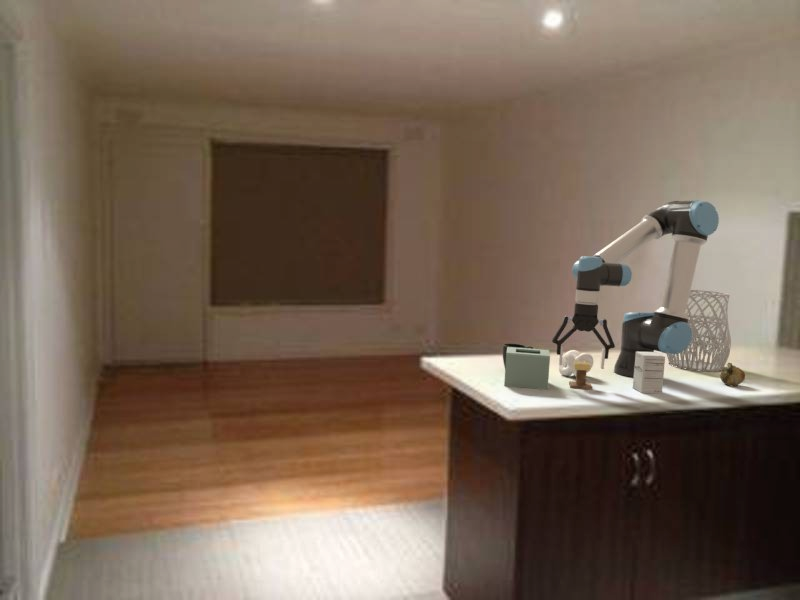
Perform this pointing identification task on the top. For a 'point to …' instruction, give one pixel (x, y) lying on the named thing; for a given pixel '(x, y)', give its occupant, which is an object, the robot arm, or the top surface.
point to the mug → (511, 346)
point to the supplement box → (648, 372)
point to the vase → (719, 358)
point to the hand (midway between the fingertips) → (581, 366)
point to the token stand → (580, 381)
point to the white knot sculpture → (569, 360)
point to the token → (581, 365)
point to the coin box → (527, 368)
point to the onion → (732, 375)
